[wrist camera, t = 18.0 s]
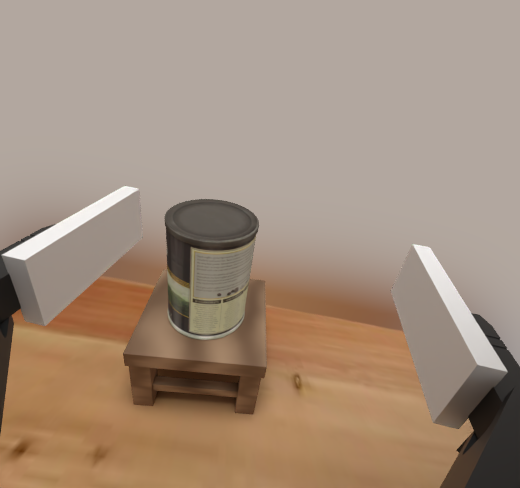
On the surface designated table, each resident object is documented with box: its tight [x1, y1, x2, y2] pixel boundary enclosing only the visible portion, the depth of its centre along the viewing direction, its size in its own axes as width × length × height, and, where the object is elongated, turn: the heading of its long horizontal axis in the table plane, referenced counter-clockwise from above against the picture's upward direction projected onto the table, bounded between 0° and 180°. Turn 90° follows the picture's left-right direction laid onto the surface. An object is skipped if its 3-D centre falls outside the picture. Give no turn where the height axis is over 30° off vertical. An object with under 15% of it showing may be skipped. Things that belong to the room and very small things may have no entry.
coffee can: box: [165, 199, 259, 340], centre depth 37 cm, size 10×10×14 cm
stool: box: [123, 270, 267, 414], centre depth 43 cm, size 16×16×10 cm
